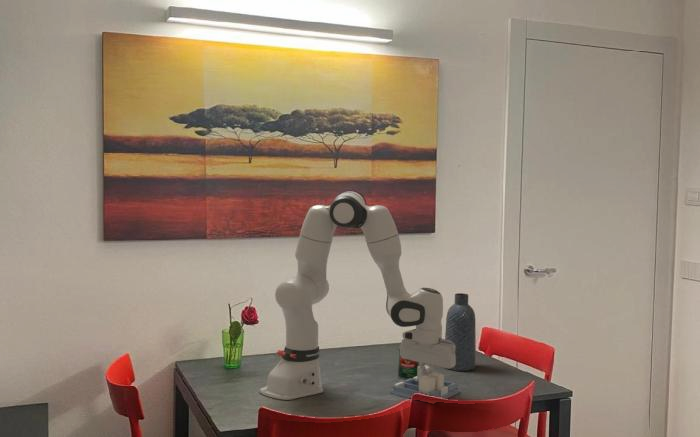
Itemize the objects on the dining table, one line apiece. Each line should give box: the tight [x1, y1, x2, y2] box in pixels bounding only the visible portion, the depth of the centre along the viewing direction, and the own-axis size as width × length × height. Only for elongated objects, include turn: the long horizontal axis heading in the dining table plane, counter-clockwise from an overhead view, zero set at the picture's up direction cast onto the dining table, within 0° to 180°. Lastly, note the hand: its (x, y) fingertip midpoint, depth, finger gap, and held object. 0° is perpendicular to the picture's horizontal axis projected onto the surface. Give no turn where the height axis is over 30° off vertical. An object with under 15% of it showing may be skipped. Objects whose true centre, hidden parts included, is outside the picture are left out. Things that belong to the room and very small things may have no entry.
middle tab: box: [428, 371, 445, 390], centre depth 262 cm, size 4×4×6 cm
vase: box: [444, 292, 477, 372], centre depth 297 cm, size 12×12×28 cm
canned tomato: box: [397, 345, 419, 381], centre depth 283 cm, size 8×8×11 cm
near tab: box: [419, 376, 435, 394], centre depth 257 cm, size 4×4×6 cm
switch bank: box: [390, 376, 461, 399], centre depth 264 cm, size 17×17×3 cm
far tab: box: [417, 364, 434, 380], centre depth 271 cm, size 4×4×6 cm
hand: (426, 376), depth 264 cm, fingers closed
